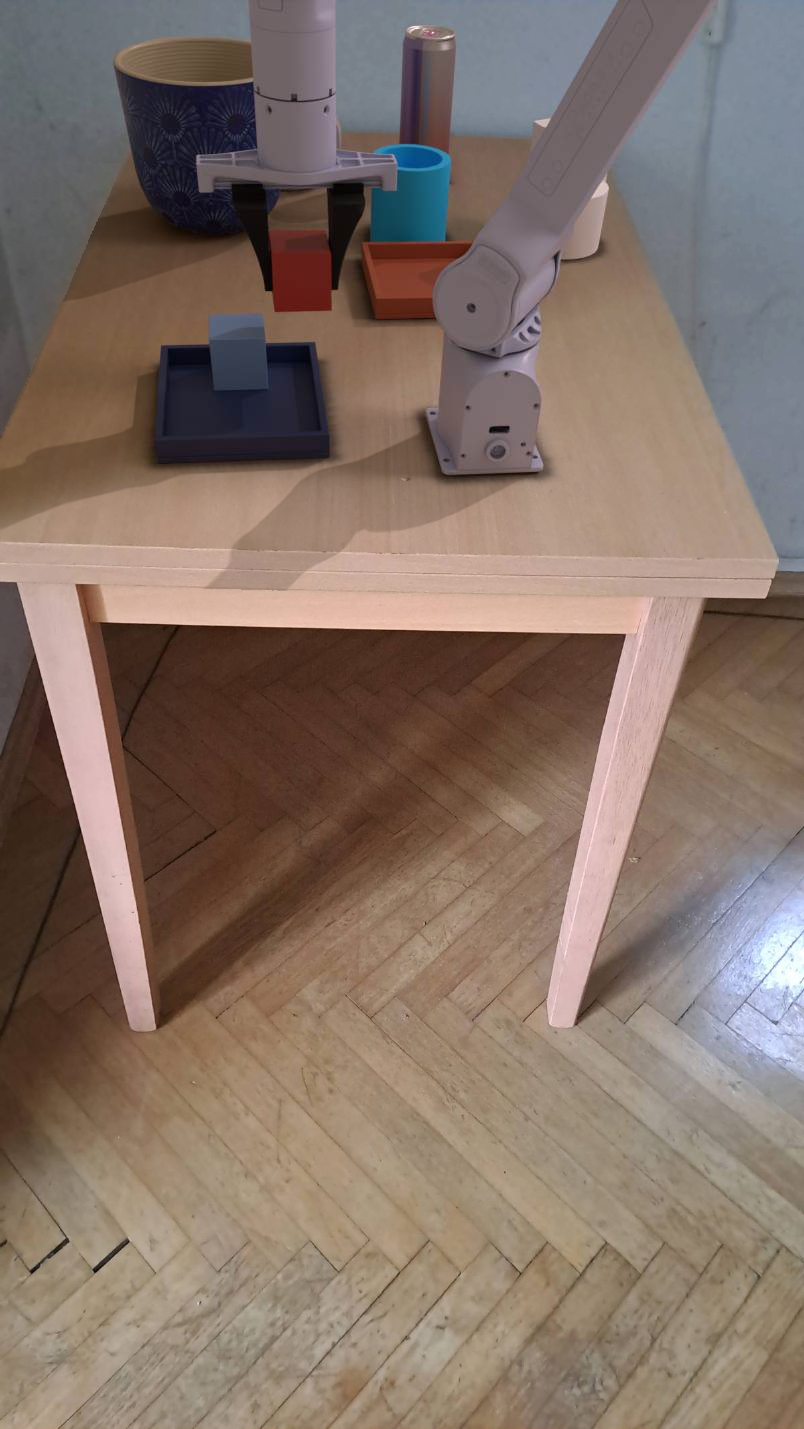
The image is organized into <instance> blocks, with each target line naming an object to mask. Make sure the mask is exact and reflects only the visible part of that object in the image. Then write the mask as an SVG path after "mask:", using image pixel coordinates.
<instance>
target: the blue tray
mask: <svg viewBox="0 0 804 1429" xmlns="http://www.w3.org/2000/svg"><path fill="white" fill-rule="evenodd" d="M159 351H160V353H159V366H158V368H159V369H158V380H157V381H158V382H157V396H156V411H155V412H156V413H155V426H154V442H153V443H154V448H155V452H156V453H155V455H156V461H157V464H179V463H205V462H208V463H209V462H235V461H262V460H263V461H264V460H285V459H286V460H288V459H290V460H291V459H316V458H317V459H318V458H330V457H331V442H330V440H331V438H330V436H331V435H330V428H329V422H328V415H327V409H326V403H325V396H324V390H323V389H324V388H323V384H322V377H321V370H320V364H319V358H318V351H317V345H316V341H297V342H266V357H267V374H268V389H263V390H227V391H214V384H213V374H212V364H211V355H210V345H209V343H204V344H203V343H202V344H200V343H198V344H161V345H160V350H159Z"/></svg>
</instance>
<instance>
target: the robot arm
mask: <svg viewBox="0 0 804 1429" xmlns="http://www.w3.org/2000/svg"><path fill="white" fill-rule="evenodd" d="M718 1H719V0H617V1H616V3H615V5H614V7H613V8H612V10H611V12H610V14H609V15H608V17H607V19H606V21H605V23H604V24H603V26H602V28H601V30H600V32H599V33H598V35H597V37H596V38H595V39H594V42H593V43H592V45H591V47H590V49H589V50H588V52H587V54H586V56H585V58H584V60H583V61H582V63H581V65H580V66H579V68H578V70H577V72H576V74H575V75H574V77H573V79H572V81H571V82H570V84H569V86H568V88H567V89H566V91H565V93H564V94H563V97H562V98H561V100H560V101H559V103H558V105H557V107H556V109H555V111H554V112H553V114H552V115H551V117H550V118H551V119H550V121H549V123H548V125H547V127H546V128H545V130H544V132H543V134H542V135H541V137H540V139H539V141H538V142H537V144H536V146H535V148H534V149H533V151H532V153H531V155H530V154H529V157H528V158H527V160H526V161H525V163H524V166H523V167H522V169H521V171H520V172H519V174H518V176H517V178H516V179H515V182H514V183H513V185H512V186H511V188H510V190H509V192H508V193H507V195H506V197H505V198H504V199H503V201H502V202H501V204H500V205H499V206H498V208H497V209H496V210H495V211H494V213H493V214H492V215H491V217H490V218H489V219H488V220H487V222H486V223H485V224H484V226H483V227H482V228H481V230H480V231H479V232H478V234H477V235H476V237H475V238H474V240H473V241H474V242H473V244H472V246H471V247H470V249H469V250H468V251H467V252H466V254H465V255H463V256H462V257H460V258H458V259H457V260H455V261H453V262H452V263H450V264H449V265H448V266H447V267H445V268H444V269H443V270H442V272H441V273H440V274H439V276H438V278H437V280H436V283H435V286H434V290H433V309H434V313H435V316H436V318H435V319H436V321H437V323H438V325H439V327H440V329H441V330H442V331H443V340H442V353H441V366H440V379H439V392H438V393H439V394H438V404H437V405H438V406H431V407H426V408H425V418H426V421H427V424H428V428H429V431H430V435H431V438H432V441H433V446H434V448H435V453H436V456H437V459H438V462H439V466H440V469H441V473H443V474H444V475H446V476H459V475H462V476H463V475H485V474H508V473H509V474H512V473H536V472H537V473H538V472H541V471H543V470H544V462H543V460H542V457H541V454H540V453H539V450H538V448H537V445H536V440H537V434H538V427H539V421H540V414H541V408H542V391H541V388H540V385H539V382H538V379H537V376H536V375H537V374H536V370H537V364H538V363H537V362H538V355H539V350H540V349H539V348H540V343H541V342H540V341H541V336H542V328H543V327H542V318H541V313H540V303H541V302H542V301H543V300H544V299H545V298H547V297H548V296H549V295H550V294H551V293H552V291H553V290H554V288H555V286H556V284H557V282H558V279H559V276H560V269H561V260H562V259H561V256H562V253H563V250H564V248H565V246H566V244H567V243H568V241H569V240H570V238H571V237H572V235H573V232H574V224H575V222H576V221H577V219H578V217H579V216H580V214H581V213H582V211H583V210H584V208H585V207H586V205H587V203H588V202H589V200H590V199H591V197H592V196H593V194H594V193H595V191H596V189H597V188H598V186H599V185H600V183H601V182H602V180H603V179H604V177H605V175H606V174H607V175H608V173H609V171H610V169H611V168H612V166H613V165H614V163H615V162H616V160H617V158H618V157H619V155H620V154H621V152H622V151H623V149H624V148H625V146H626V144H627V143H628V141H629V140H630V138H631V137H632V136H633V133H634V132H635V131H636V129H637V127H638V126H639V125H640V122H641V121H642V119H644V117H645V115H646V113H647V112H648V110H649V109H650V107H651V106H652V104H653V103H654V101H655V99H656V98H657V96H658V95H659V93H660V91H661V90H662V89H663V87H664V85H665V84H666V82H667V81H668V79H669V77H670V76H671V74H672V73H673V71H674V70H675V68H676V67H677V65H678V63H680V60H681V59H682V57H684V54H685V53H686V51H687V49H688V48H689V46H690V45H691V43H692V42H693V40H694V39H695V37H696V35H697V34H698V32H699V31H700V29H701V28H702V26H703V24H704V23H705V22H706V19H708V17H709V15H710V14H711V12H712V11H713V9H714V8H715V6H716V4H717V3H718ZM336 13H337V12H336V0H248V15H249V16H248V17H249V31H250V42H251V51H252V68H253V85H254V101H255V117H256V134H257V149H254V150H246V151H238V152H231V153H223V154H211V155H197V156H196V166H197V176H198V186H199V192H200V193H210V192H214V189H232V198H233V206H234V209H235V211H236V214H237V216H238V218H239V220H240V221H241V223H242V225H243V227H244V229H245V230H244V231H245V233H246V235H247V237H248V239H249V242H250V243H251V246H252V248H253V251H254V253H255V256H256V260H257V262H258V266H259V268H260V271H261V275H262V280H263V287H264V292H272V291H273V281H272V267H271V259H270V252H269V232H268V231H269V215H268V210H267V203H266V192H265V189H289V188H305V189H326V198H327V200H326V202H327V226H328V227H327V229H328V230H327V233H328V234H327V238H328V242H329V247H330V251H331V291H338V290H339V284H340V277H341V272H342V268H343V263H344V259H345V257H346V253H347V251H348V247H349V246H350V242H351V240H352V237H353V234H354V233H355V230H356V228H357V226H358V225H359V222H360V221H361V219H362V217H363V214H364V211H365V208H366V196H365V189H371V188H381V189H382V190H383V191H396V190H397V161H396V159H395V156H394V155H393V154H373V152H372V153H371V152H363V151H353V150H345V149H341V150H338V149H336V117H337V41H336V40H337V35H336V34H337V30H336V29H337V28H336V27H337V26H336V24H337V23H336V22H337V20H336V18H337V17H336Z"/></svg>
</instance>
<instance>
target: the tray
mask: <svg viewBox="0 0 804 1429" xmlns="http://www.w3.org/2000/svg"><path fill="white" fill-rule="evenodd" d="M473 242H474V240H447V241H446V240H445V241H424V242H371V241H361V243H360V244H361V246H360V262H361V267H362V271H363V274H364V278H365V283H366V287H367V291H368V294H369V298H370V302H371V306H372V310H373V314H374V318H375V320H389V319H390V320H394V319H395V320H397V319H436V316H435V313H434V309H433V290H434V286H435V283H436V280H437V278H438V276H439V274H440V273H441V272H442V270H443V269H444V268H445V267H447V266H448V265H449V264H450V263H452V262H453V261H455V260H457V259H458V258H460V257H462V256H463V255H465V254H466V252H467V251H468V250H469V249H470V247H471V246H472V244H473Z"/></svg>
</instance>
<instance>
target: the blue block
mask: <svg viewBox="0 0 804 1429" xmlns="http://www.w3.org/2000/svg"><path fill="white" fill-rule="evenodd" d="M266 343H267V341H266V330H265V318H264V313H222V314H221V313H220V314H217V313H215V314H211V313H210V314H208V344H209V345H210V355H211V364H212V374H213V384H214V391H227V390H263V389H268V374H267V357H266Z"/></svg>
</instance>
